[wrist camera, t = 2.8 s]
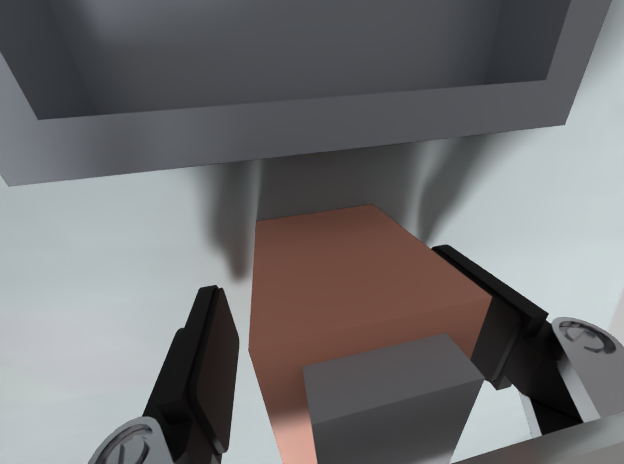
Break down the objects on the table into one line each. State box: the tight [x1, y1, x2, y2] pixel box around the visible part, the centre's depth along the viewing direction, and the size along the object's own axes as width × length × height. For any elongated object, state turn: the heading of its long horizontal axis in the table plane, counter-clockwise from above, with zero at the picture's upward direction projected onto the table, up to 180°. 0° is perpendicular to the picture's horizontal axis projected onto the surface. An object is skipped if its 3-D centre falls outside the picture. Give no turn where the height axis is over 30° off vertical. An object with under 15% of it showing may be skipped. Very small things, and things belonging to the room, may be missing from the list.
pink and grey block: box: [248, 204, 492, 464], centre depth 8 cm, size 6×5×7 cm
